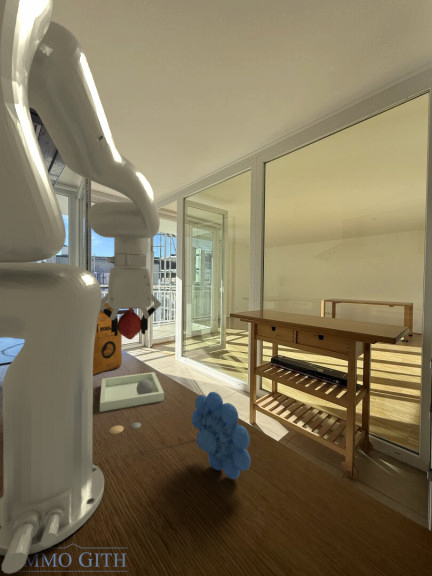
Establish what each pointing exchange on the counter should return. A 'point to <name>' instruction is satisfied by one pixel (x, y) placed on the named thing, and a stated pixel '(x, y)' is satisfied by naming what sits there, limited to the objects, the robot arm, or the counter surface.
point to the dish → (128, 391)
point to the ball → (144, 387)
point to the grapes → (221, 435)
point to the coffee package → (106, 345)
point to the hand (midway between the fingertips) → (129, 333)
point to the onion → (129, 324)
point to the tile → (120, 428)
